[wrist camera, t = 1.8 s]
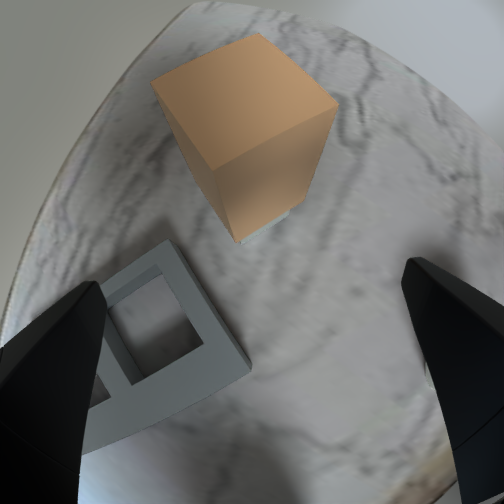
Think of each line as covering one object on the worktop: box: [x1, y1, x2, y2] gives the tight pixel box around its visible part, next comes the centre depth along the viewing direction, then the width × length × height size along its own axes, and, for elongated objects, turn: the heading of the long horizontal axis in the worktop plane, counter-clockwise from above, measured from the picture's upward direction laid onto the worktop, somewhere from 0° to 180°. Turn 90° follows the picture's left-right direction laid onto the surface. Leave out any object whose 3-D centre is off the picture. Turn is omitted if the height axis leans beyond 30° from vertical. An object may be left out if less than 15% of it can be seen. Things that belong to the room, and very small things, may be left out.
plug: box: [150, 33, 339, 245], centre depth 16 cm, size 5×5×13 cm
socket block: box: [82, 239, 252, 455], centre depth 19 cm, size 10×16×2 cm, turn 123°
